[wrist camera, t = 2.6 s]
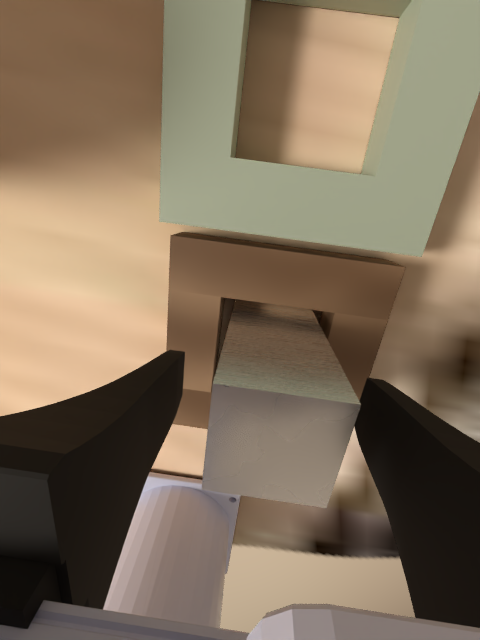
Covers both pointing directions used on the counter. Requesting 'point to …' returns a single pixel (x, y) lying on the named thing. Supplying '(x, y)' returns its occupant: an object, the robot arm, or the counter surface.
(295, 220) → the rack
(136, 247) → the counter surface
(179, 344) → the socket block
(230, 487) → the peg
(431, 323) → the counter surface
